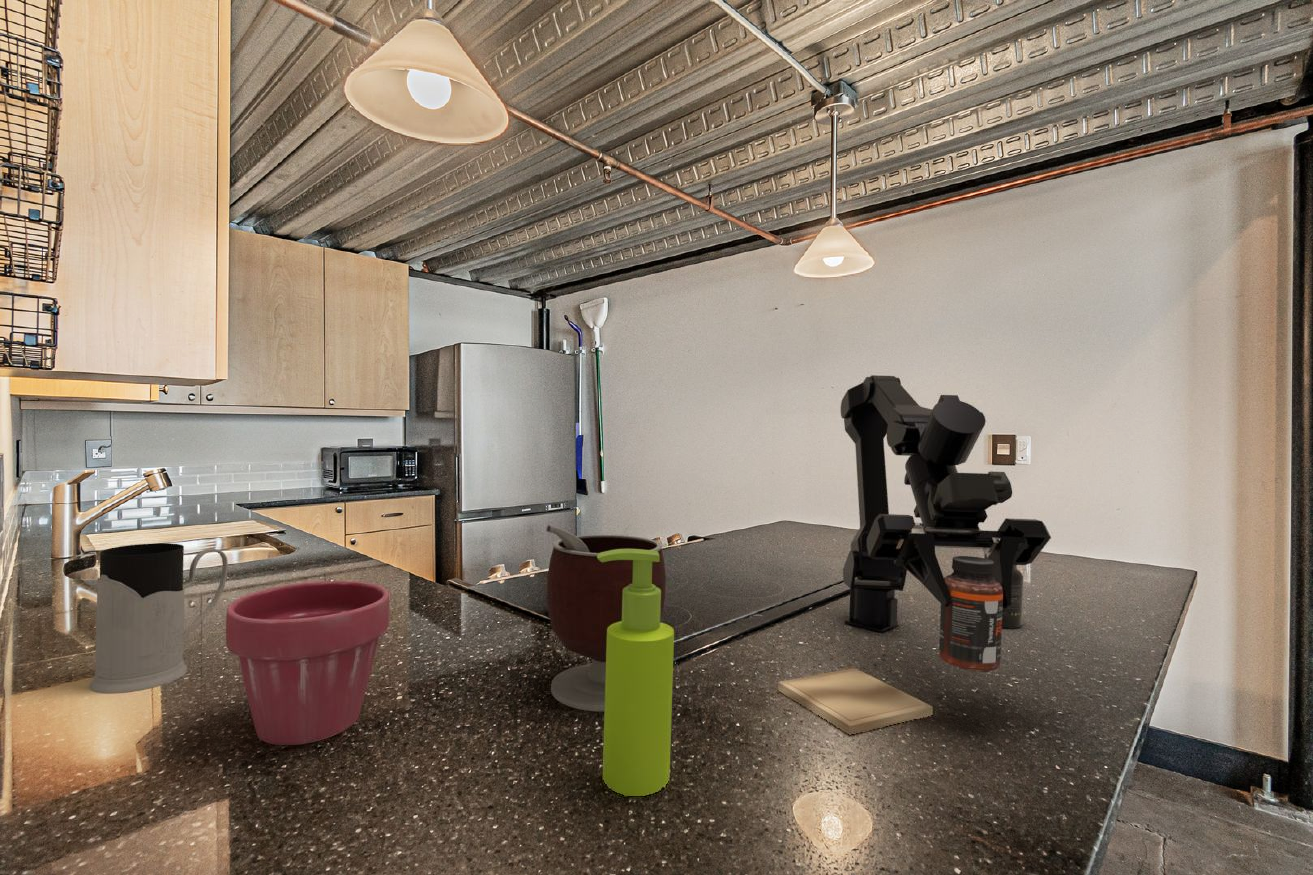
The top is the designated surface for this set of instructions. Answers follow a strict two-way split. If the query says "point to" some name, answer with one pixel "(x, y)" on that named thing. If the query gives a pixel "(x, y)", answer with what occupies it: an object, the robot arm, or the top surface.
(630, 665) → the soap dispenser
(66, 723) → the top surface
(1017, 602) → the supplement bottle
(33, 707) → the top surface
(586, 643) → the mate gourd
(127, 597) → the glass holder
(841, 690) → the coaster
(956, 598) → the supplement bottle
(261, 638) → the plant pot
